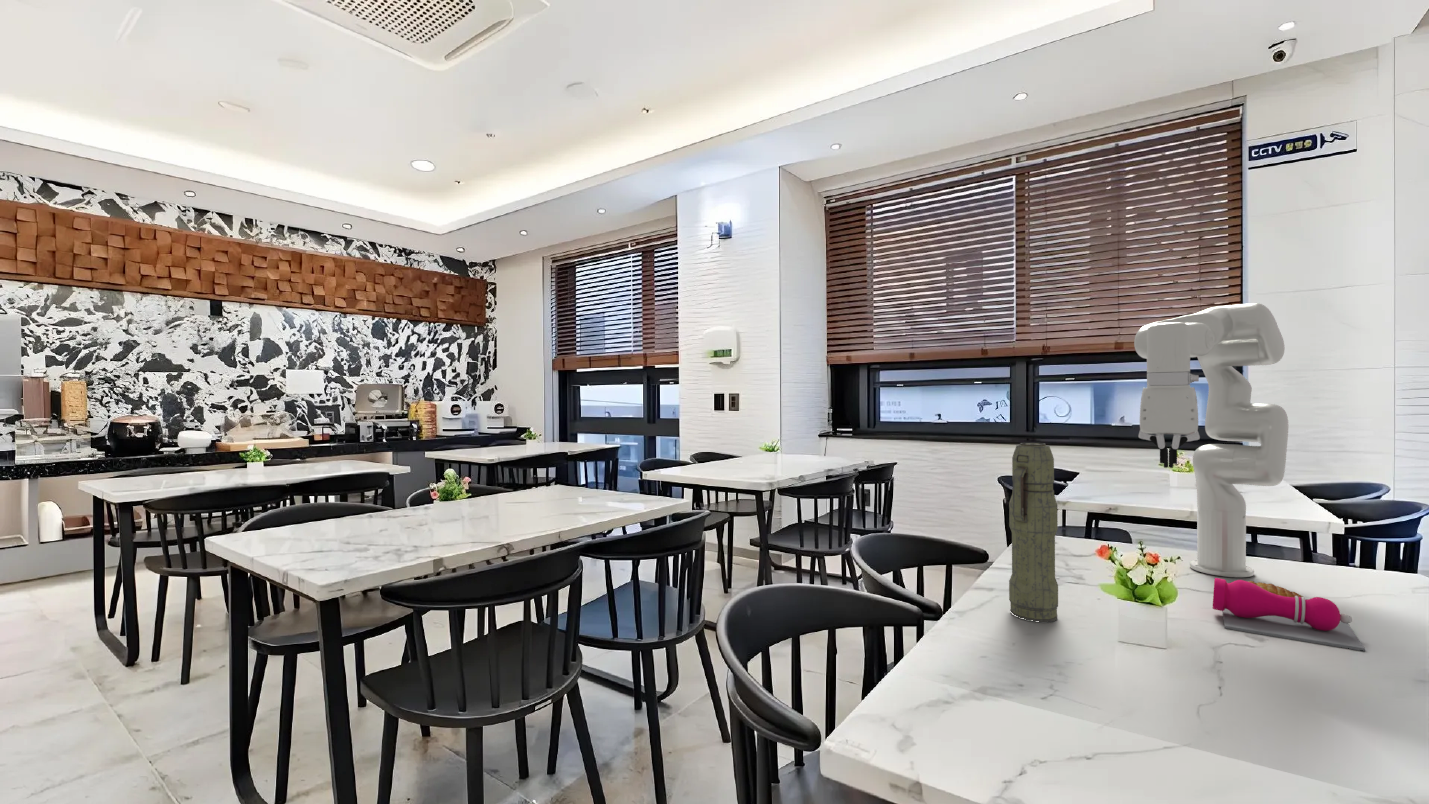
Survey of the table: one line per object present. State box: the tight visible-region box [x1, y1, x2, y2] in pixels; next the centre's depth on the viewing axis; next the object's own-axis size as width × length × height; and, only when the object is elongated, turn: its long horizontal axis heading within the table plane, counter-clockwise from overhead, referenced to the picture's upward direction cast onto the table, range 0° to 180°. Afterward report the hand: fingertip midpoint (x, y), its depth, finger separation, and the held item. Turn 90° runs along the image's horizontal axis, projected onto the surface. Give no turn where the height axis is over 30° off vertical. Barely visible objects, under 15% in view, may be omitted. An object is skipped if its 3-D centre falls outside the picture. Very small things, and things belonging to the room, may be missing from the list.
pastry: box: [1248, 580, 1304, 597], centre depth 137 cm, size 9×7×4 cm
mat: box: [1221, 609, 1366, 652], centre depth 123 cm, size 15×19×1 cm
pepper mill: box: [1212, 577, 1353, 631], centre depth 123 cm, size 7×7×20 cm
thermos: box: [1008, 442, 1059, 623], centre depth 130 cm, size 9×12×35 cm
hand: (1168, 466), depth 137 cm, fingers closed
